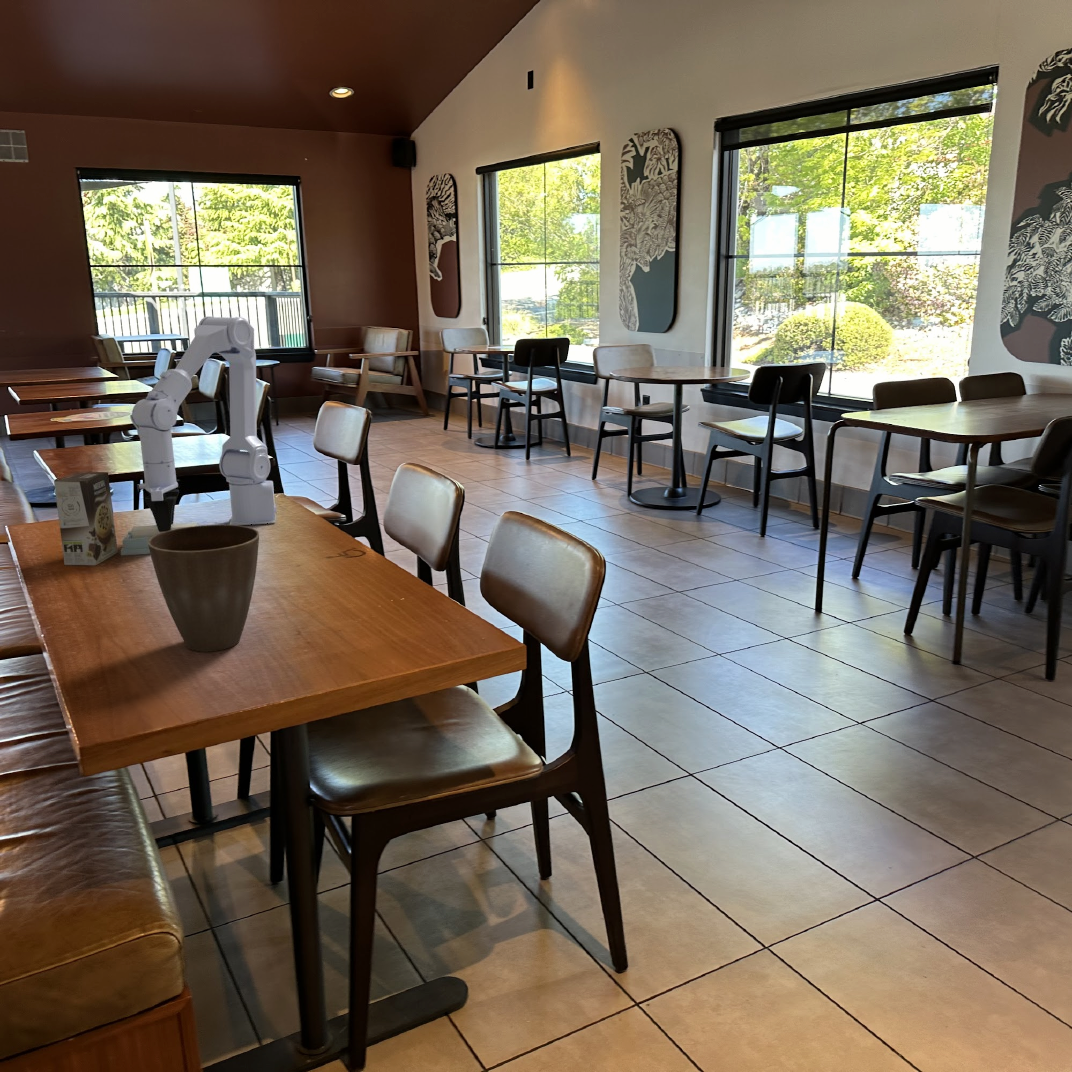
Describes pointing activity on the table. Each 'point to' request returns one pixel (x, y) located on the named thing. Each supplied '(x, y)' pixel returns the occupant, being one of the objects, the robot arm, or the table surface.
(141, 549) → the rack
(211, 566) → the plant pot
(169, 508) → the robot arm
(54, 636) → the table surface
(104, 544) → the food box
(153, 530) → the beige rectangular block
